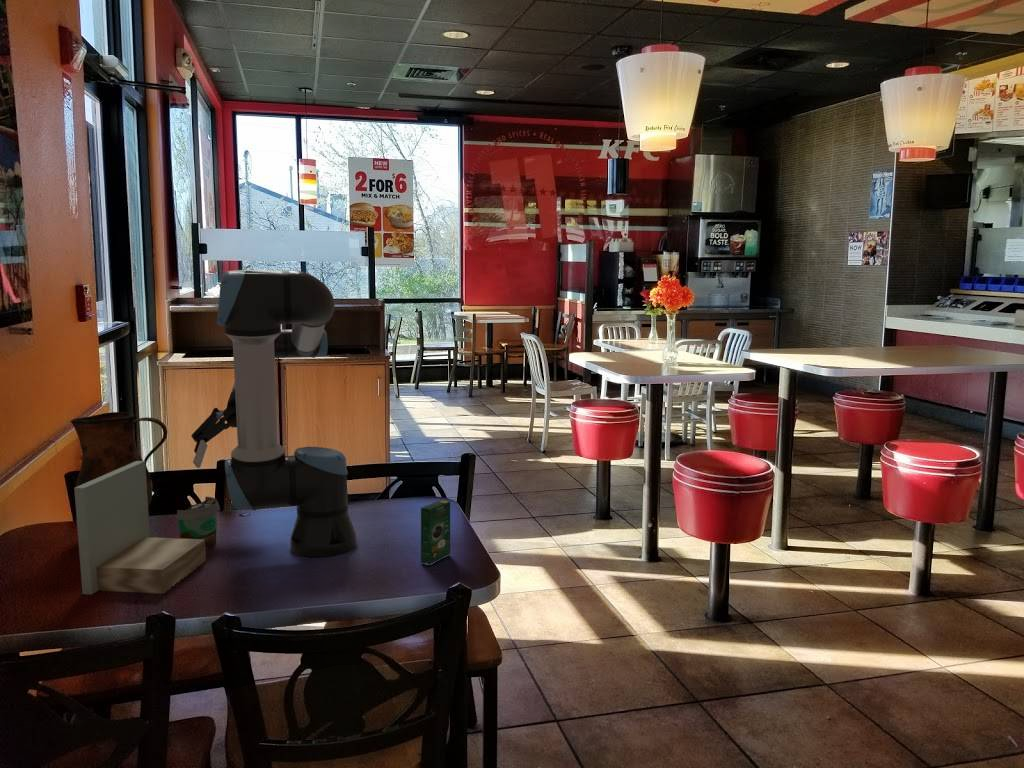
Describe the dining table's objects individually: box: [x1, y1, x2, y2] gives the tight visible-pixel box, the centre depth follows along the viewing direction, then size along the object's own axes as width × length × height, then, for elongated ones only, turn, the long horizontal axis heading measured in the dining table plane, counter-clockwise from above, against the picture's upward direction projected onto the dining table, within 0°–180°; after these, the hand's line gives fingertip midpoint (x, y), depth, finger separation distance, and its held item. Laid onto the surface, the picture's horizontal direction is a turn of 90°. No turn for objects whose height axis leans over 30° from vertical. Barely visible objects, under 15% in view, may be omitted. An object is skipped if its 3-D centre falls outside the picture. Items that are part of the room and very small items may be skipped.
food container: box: [176, 495, 221, 549], centre depth 188 cm, size 12×6×10 cm, turn 168°
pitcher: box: [70, 411, 168, 507], centre depth 192 cm, size 17×21×30 cm
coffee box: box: [420, 499, 451, 564], centre depth 179 cm, size 8×3×13 cm, turn 149°
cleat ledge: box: [96, 536, 207, 594], centre depth 170 cm, size 14×18×5 cm
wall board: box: [73, 460, 151, 595], centre depth 169 cm, size 2×22×22 cm, turn 174°
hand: (222, 466), depth 197 cm, fingers open, 13 cm apart
